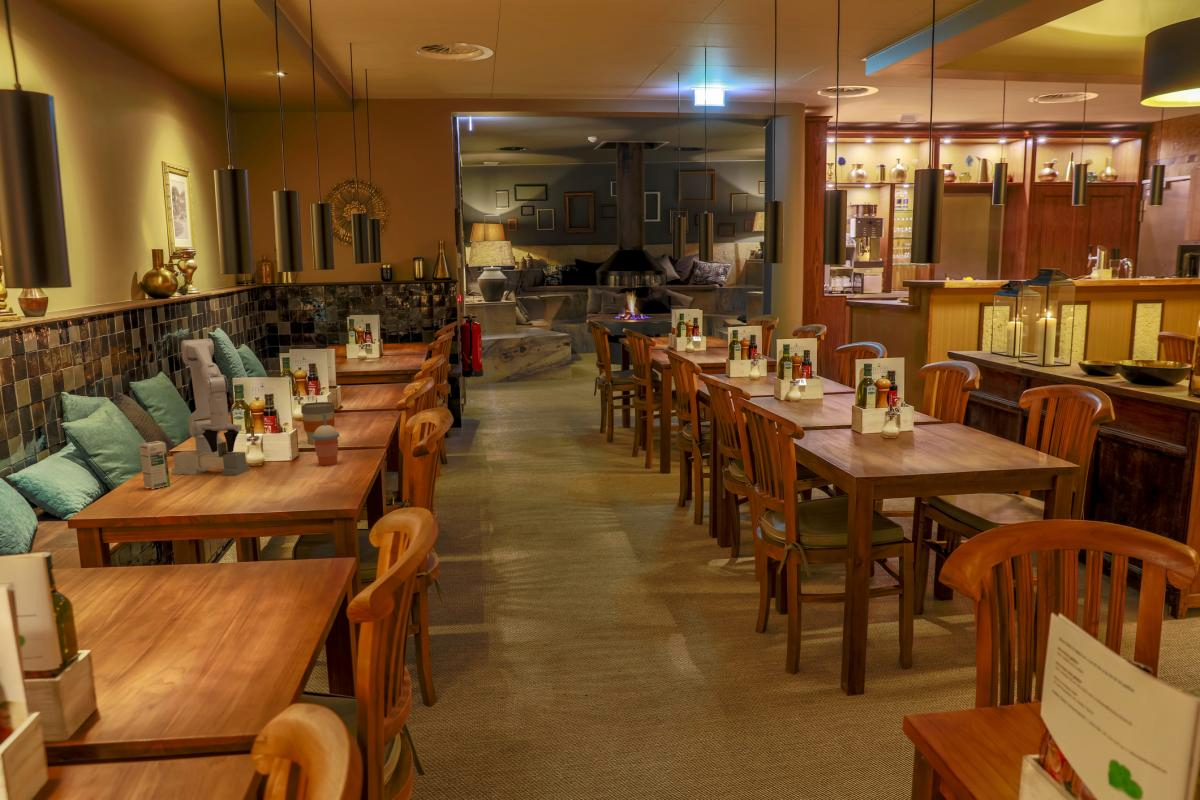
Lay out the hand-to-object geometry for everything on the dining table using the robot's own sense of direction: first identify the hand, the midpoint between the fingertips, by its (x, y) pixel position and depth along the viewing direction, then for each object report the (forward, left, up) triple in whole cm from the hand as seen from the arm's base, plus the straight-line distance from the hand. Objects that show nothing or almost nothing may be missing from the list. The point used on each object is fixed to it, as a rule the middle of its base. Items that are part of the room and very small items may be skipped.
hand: (222, 451), depth 298 cm
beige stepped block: (0, -12, -7) cm, 14 cm away
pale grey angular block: (0, -2, -5) cm, 5 cm away
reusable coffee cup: (-50, +9, -7) cm, 51 cm away
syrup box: (+20, -11, -7) cm, 24 cm away
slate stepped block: (0, +4, -7) cm, 8 cm away
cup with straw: (-15, +30, -7) cm, 35 cm away
